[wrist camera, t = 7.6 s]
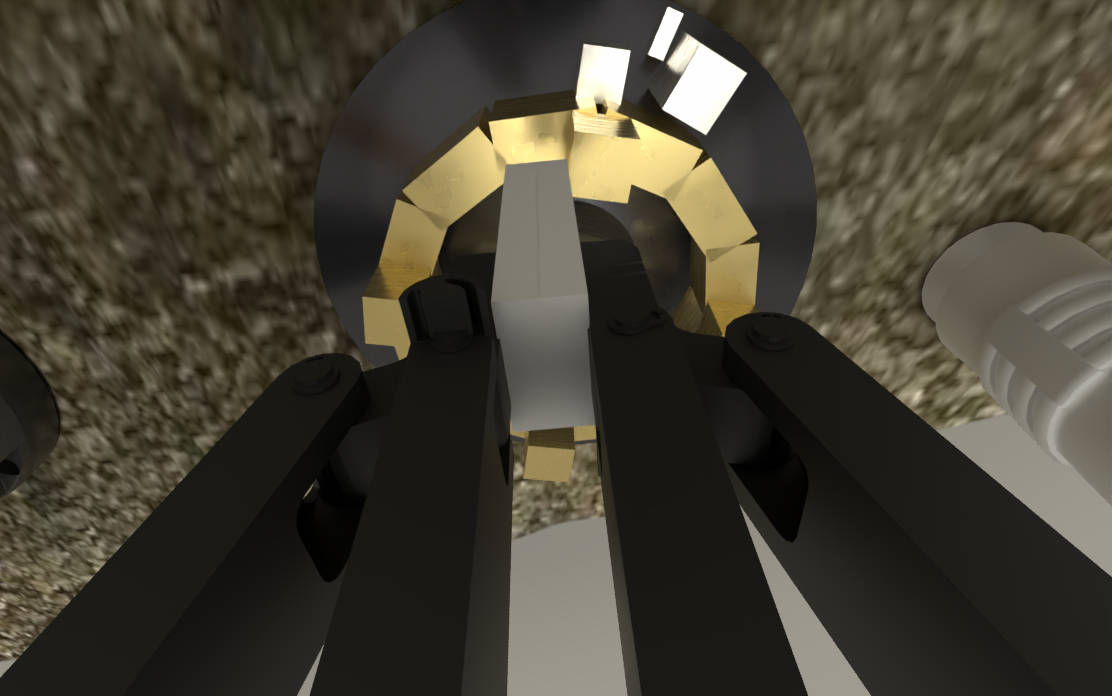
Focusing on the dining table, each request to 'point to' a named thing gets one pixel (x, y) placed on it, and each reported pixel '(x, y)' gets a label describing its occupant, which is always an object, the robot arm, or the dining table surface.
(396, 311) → the ring nut
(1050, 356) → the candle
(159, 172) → the dining table surface
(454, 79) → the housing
